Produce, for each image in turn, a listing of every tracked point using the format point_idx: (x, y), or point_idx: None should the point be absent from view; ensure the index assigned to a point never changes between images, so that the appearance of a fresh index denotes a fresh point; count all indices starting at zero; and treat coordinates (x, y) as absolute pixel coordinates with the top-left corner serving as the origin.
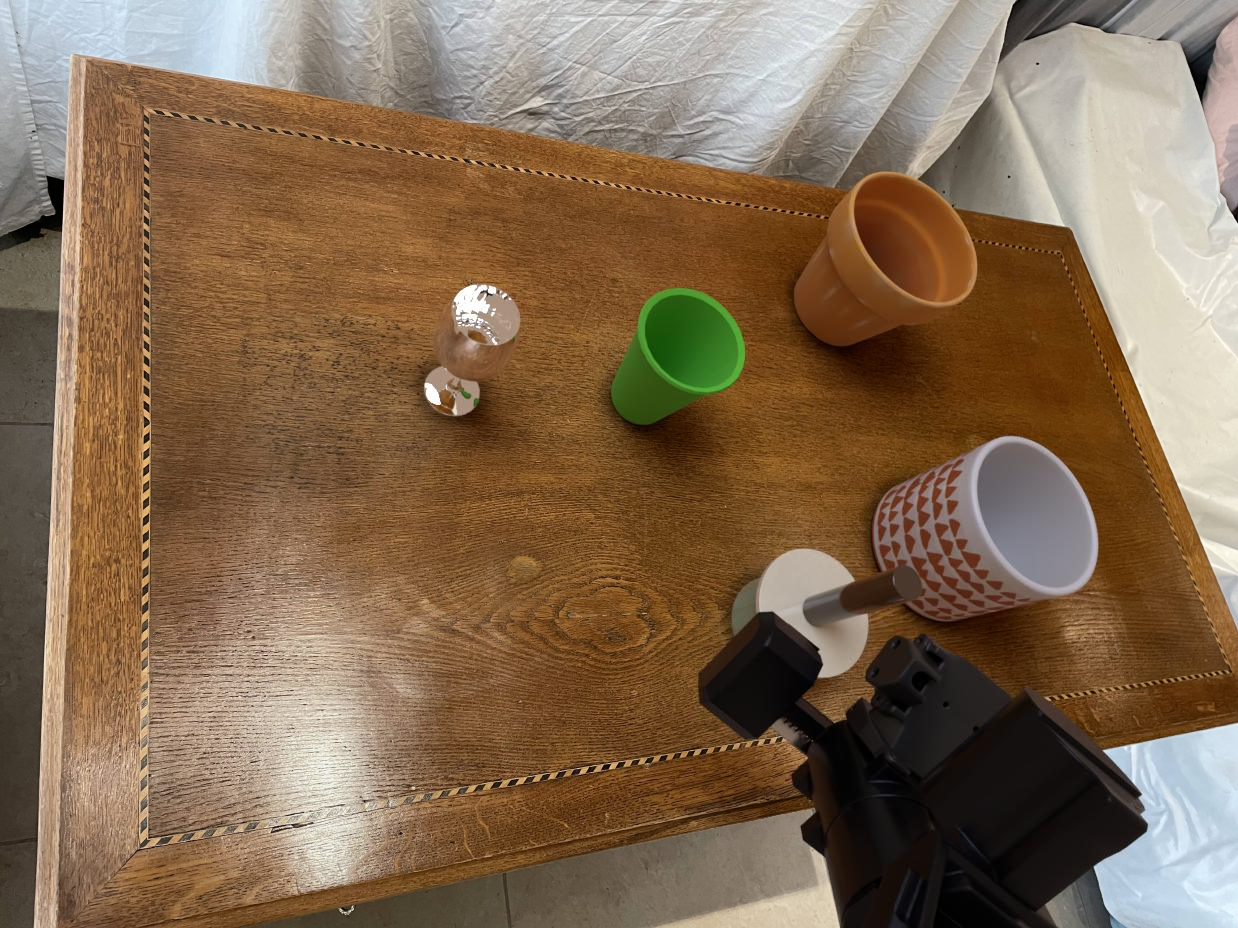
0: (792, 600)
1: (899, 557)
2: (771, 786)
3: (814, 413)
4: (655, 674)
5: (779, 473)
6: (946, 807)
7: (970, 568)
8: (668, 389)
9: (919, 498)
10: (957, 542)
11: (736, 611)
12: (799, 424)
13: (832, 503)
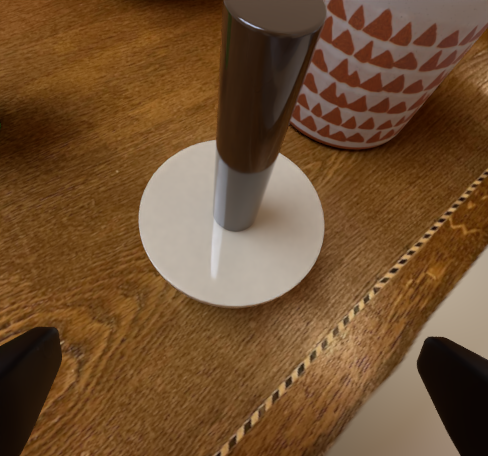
0: (195, 219)
1: (311, 106)
2: (323, 433)
3: (172, 50)
4: (106, 409)
5: (162, 112)
6: None
7: (386, 42)
8: None
9: None
10: (352, 23)
11: None
12: (162, 64)
13: None
